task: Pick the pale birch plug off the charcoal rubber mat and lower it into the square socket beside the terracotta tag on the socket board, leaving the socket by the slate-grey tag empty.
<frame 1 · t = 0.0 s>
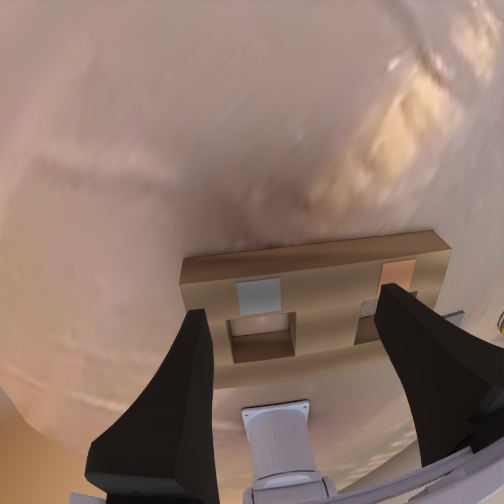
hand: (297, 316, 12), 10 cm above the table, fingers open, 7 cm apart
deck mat: (431, 338, 31), on the table
socket board: (318, 305, 26), on the table
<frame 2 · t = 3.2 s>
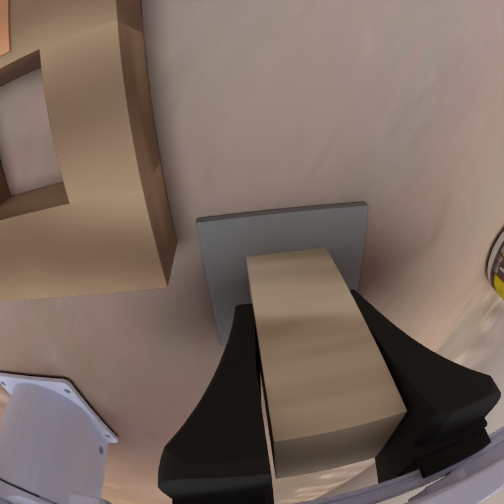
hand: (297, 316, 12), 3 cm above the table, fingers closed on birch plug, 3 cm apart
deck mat: (286, 279, 14), on the table
birch plug: (287, 284, 14), resting on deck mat, touching gripper
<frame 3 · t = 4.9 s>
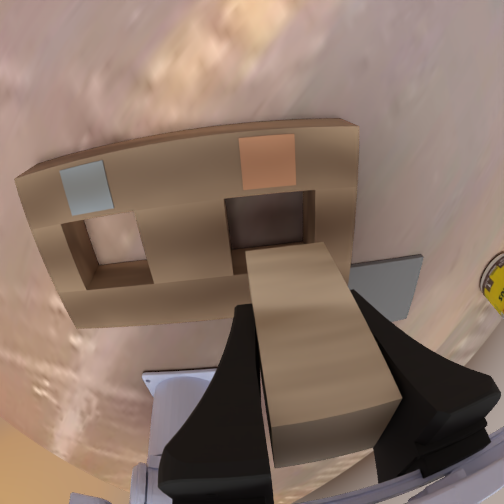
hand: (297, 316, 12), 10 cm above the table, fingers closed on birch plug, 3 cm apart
supplement bottle: (494, 271, 26), on the table
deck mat: (379, 293, 25), on the table
socket board: (189, 221, 20), on the table
birch plug: (285, 278, 14), point 7 cm above the table, touching gripper
when the fingers open (4 cm above the table, at t = 6.7 s): birch plug drops 1 cm, resting in socket board.
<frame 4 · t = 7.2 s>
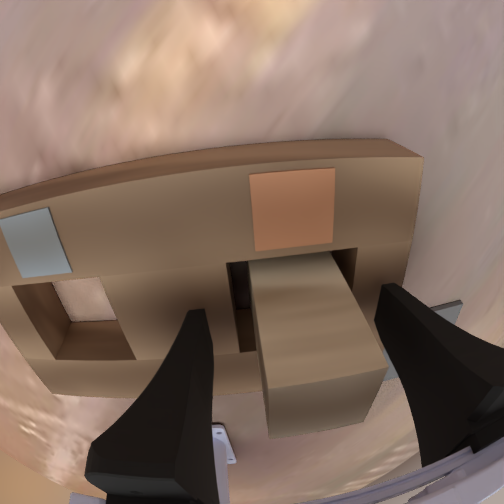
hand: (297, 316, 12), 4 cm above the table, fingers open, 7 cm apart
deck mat: (410, 344, 20), on the table
socket board: (179, 277, 15), on the table
birch plug: (282, 264, 15), resting in socket board
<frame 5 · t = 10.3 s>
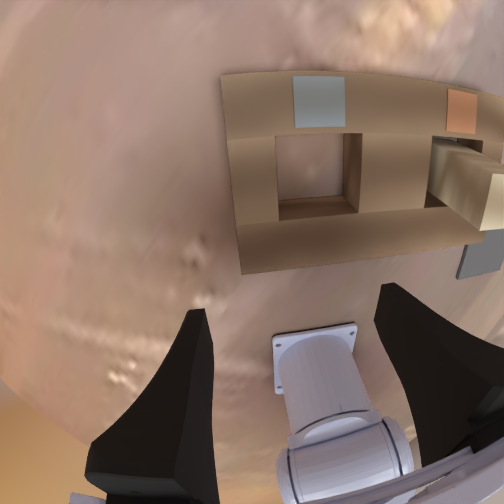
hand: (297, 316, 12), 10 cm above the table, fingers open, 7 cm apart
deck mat: (487, 244, 25), on the table
socket board: (376, 159, 20), on the table
birch plug: (432, 159, 20), resting in socket board
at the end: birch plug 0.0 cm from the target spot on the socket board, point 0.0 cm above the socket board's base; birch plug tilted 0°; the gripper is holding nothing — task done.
